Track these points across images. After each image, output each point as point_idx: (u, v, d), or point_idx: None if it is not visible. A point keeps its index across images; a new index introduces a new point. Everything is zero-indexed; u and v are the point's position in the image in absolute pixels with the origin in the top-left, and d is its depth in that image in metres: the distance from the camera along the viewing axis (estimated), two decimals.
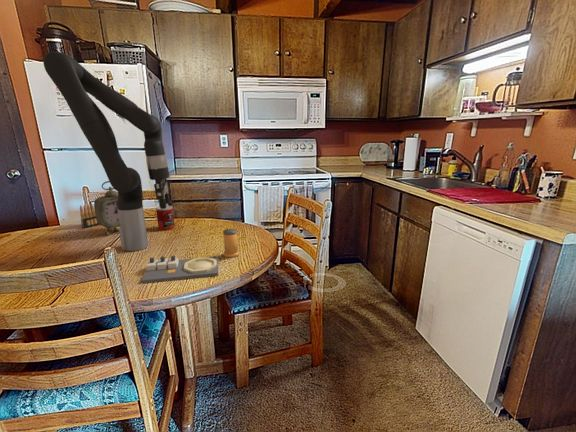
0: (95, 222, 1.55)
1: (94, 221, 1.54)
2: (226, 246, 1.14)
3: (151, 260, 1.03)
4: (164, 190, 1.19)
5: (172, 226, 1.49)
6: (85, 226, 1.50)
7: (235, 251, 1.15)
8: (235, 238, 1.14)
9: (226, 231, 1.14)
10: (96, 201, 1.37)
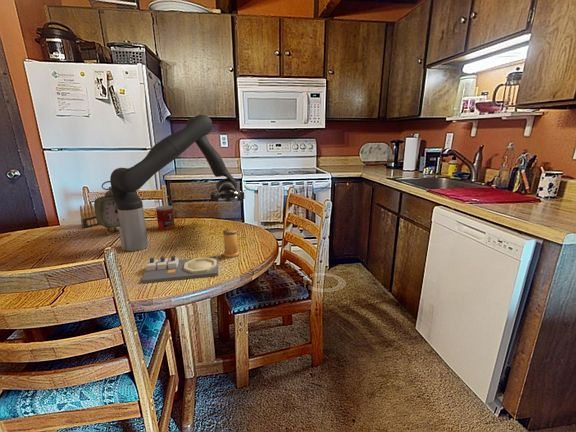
0: (95, 222, 1.55)
1: (94, 221, 1.54)
2: (226, 246, 1.14)
3: (151, 260, 1.03)
4: (235, 198, 1.30)
5: (172, 226, 1.49)
6: (85, 226, 1.50)
7: (235, 251, 1.15)
8: (235, 238, 1.14)
9: (226, 231, 1.14)
10: (96, 201, 1.37)
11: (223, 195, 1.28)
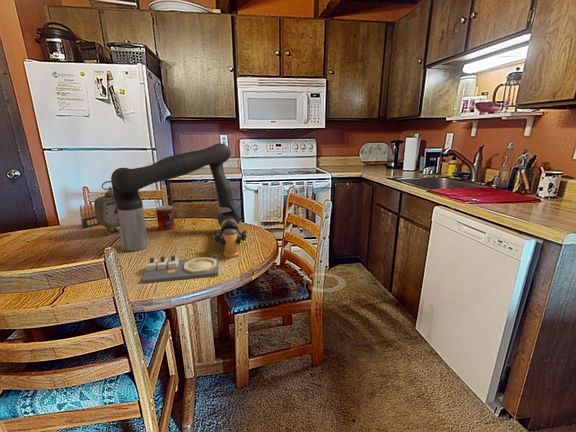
0: (95, 222, 1.55)
1: (94, 221, 1.54)
2: (226, 246, 1.14)
3: (151, 260, 1.03)
4: None
5: (172, 226, 1.49)
6: (85, 226, 1.50)
7: (235, 251, 1.15)
8: (235, 238, 1.14)
9: (226, 231, 1.14)
10: (96, 201, 1.37)
11: None
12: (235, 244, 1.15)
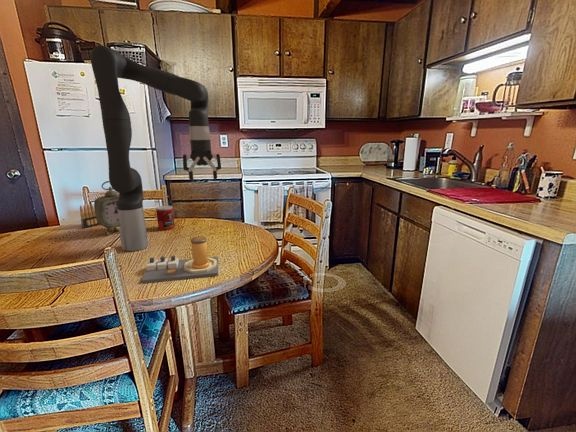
0: (95, 222, 1.55)
1: (94, 221, 1.54)
2: None
3: (151, 260, 1.03)
4: (211, 162, 1.18)
5: (172, 226, 1.49)
6: (85, 226, 1.50)
7: (200, 263, 1.03)
8: (200, 248, 1.01)
9: (194, 239, 1.03)
10: (96, 201, 1.37)
11: None
12: (200, 255, 1.02)
